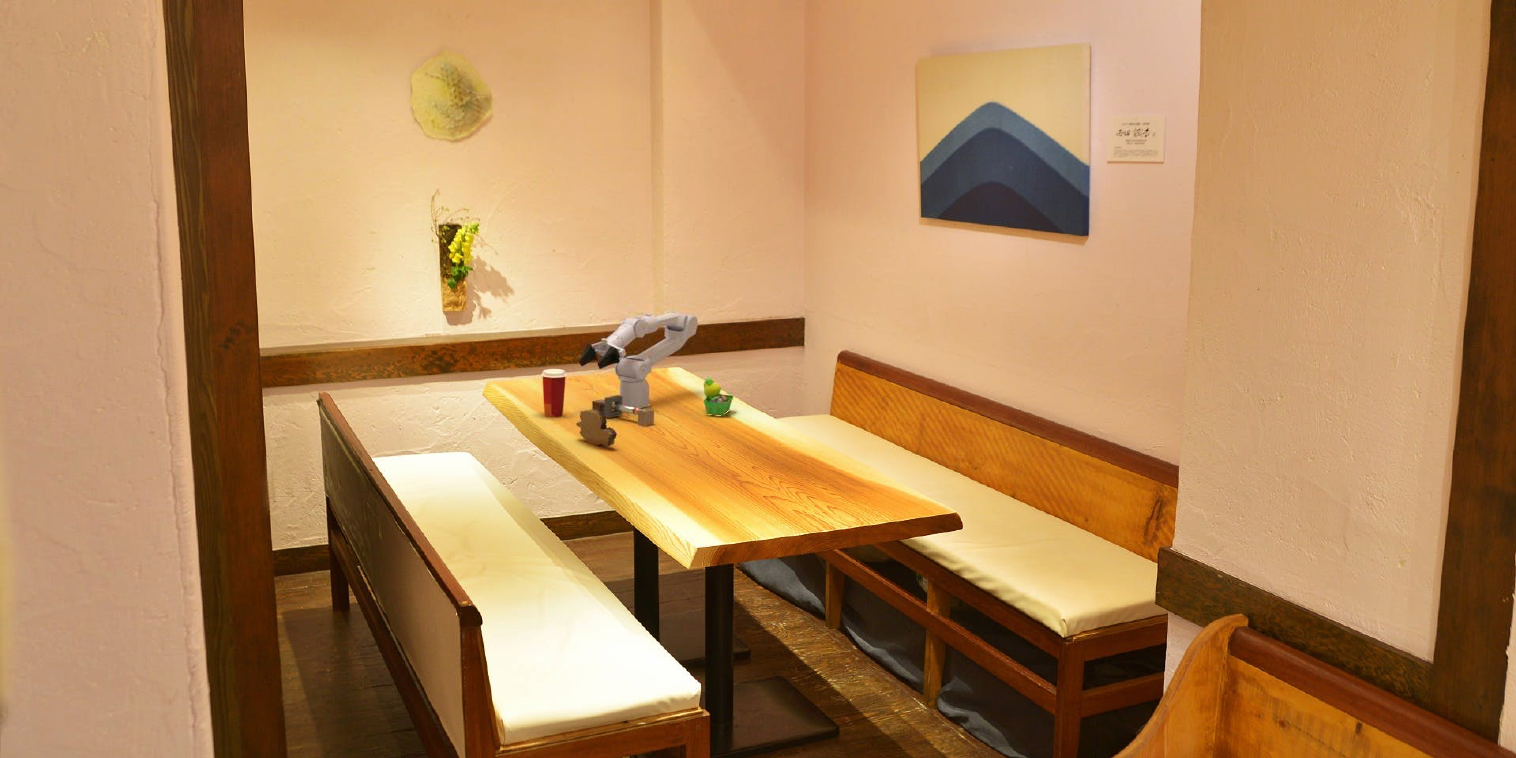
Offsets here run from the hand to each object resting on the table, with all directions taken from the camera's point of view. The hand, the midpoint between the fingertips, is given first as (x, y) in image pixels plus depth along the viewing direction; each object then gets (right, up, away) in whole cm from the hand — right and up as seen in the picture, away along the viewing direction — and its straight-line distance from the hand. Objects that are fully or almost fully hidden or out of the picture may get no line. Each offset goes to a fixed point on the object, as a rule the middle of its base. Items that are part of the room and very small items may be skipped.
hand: (589, 364), depth 398 cm
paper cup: (-12, -16, +4) cm, 20 cm away
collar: (+7, -16, +4) cm, 18 cm away
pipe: (+10, -17, +2) cm, 20 cm away
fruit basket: (+39, -16, +16) cm, 45 cm away
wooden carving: (+6, -23, -29) cm, 38 cm away
